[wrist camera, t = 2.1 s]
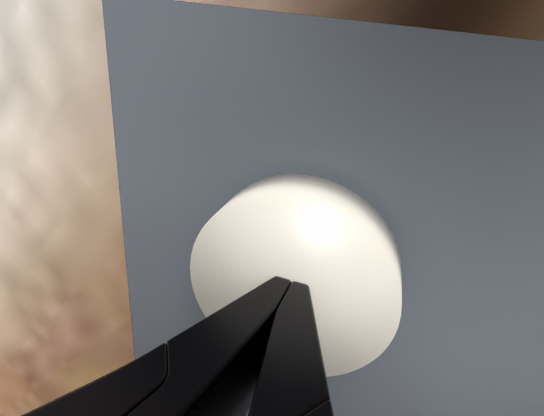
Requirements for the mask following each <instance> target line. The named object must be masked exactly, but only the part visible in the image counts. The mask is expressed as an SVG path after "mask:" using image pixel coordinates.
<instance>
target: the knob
mask: <svg viewBox="0 0 544 416" xmlns="http://www.w3.org/2000/svg"><path fill="white" fill-rule="evenodd" d="M190 275H191V282H192V287H193V291H194V294H195V297H196V300H197V302H198V304H199V306H200V308H201V310H202V312H203V313H204V315H205V317H208V316H209V315H211V314H213V313H214V312H216V311H218V310H219V309H221V308H223V307H224V306H226V305H228V304H229V303H231V302H233V301H234V300H236V299H238V298H239V297H241V296H243V295H244V294H246V293H248V292H249V291H251V290H253V289H254V288H256V287H258V286H259V285H261V284H263V283H264V282H266V281H268V280H269V279H271V278H273V277H275V276H279V277H282V278H286V279H289V280H291V282H293V281H296V282H300V283H303V284H307V285H308V286H309V288H310V294H311V299H312V304H313V309H314V315H315V320H316V325H317V331H318V336H319V341H320V346H321V352H322V357H323V362H324V368H325V373H326V377H330V376H337V375H342V374H346V373H349V372H352V371H355V370H357V369H360V368H362V367H364V366H365V365H367V364H369V363H371V362H372V361H373V360H375V359H376V358H377V357H379V356H380V355H381V354H382V353H383V352H384V350H385V349H386V348H387V347H388V346H389V344H390V343H391V341H392V340H393V338H394V336H395V334H396V331H397V329H398V326H399V322H400V318H401V310H402V266H401V256H400V252H399V249H398V245H397V242H396V240H395V238H394V235H393V233H392V231H391V230H390V228H389V226H388V225H387V223H386V221H385V220H384V219H383V218H382V216H381V215H380V214H379V213H378V211H377V210H376V209H375V208H374V207H372V206H371V205H370V204H369V203H368V202H367V201H366V200H365V199H363V198H362V197H361V196H359V195H358V194H357V193H355V192H353V191H352V190H350V189H348V188H346V187H345V186H343V185H340V184H338V183H336V182H333V181H331V180H328V179H324V178H320V177H317V176H311V175H304V174H283V175H275V176H271V177H267V178H263V179H261V180H258V181H256V182H253V183H251V184H250V185H248V186H246V187H245V188H243V189H242V190H240V191H239V192H238V193H237V194H236V195H234V196H233V197H232V198H231V199H230V200H229V201H228V202H227V203H226V204H225V205H224V206H223V207H222V208H221V209H220V210H219V211H218V212H217V213H216V214H215V215H214V216H212V217H211V218H210V220H209V221H208V222H207V223H206V224H205V225H204V226H203V228H202V229H201V231H200V233H199V234H198V236H197V238H196V241H195V243H194V245H193V249H192V253H191V260H190Z"/></svg>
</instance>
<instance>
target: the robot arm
mask: <svg viewBox="0 0 544 416" xmlns="http://www.w3.org/2000/svg"><path fill="white" fill-rule="evenodd" d="M249 408H250V409H249ZM248 410H249V413H248V416H334V414H333V409H332V404H331V401H330V394H329V389H328V384H327V378H326V373H325V368H324V362H323V357H322V352H321V346H320V341H319V336H318V331H317V325H316V320H315V315H314V309H313V304H312V299H311V294H310V288H309V286H308V285H307V284H303V283H300V282H296V281H293V282H291V280H289V279H286V278H282V277H279V276H275V277H273V278H271V279H269V280H268V281H266V282H264V283H263V284H261V285H259V286H258V287H256V288H254V289H253V290H251V291H249V292H248V293H246V294H244V295H243V296H241V297H239V298H238V299H236V300H234V301H233V302H231V303H229V304H228V305H226V306H224V307H223V308H221V309H219V310H218V311H216V312H214V313H213V314H211V315H209V316H208V317H206V318H204V319H203V320H201V321H199V322H198V323H196V324H194V325H193V326H191V327H189V328H188V329H186V330H184V331H183V332H181V333H179V334H178V335H176V336H174V337H173V338H171V339H169V340H168V341H167V342H166V343H163V344H161V345H159V346H158V347H156V348H154V349H153V350H151V351H149V352H147V353H146V354H144V355H142V356H140V357H139V358H137V359H135V360H133V361H132V362H130V363H128V364H126V365H124V366H122V367H120V368H118V369H117V370H115V371H113V372H111V373H109V374H107V375H105V376H103V377H101V378H99V379H97V380H95V381H93V382H90V383H88V384H86V385H84V386H82V387H80V388H78V389H76V390H74V391H72V392H70V393H68V394H66V395H63V396H61V397H59V398H57V399H55V400H53V401H51V402H49V403H47V404H45V405H43V406H41V407H39V408H36V409H34V410H32V411H30V412H28V413H26V414H23V415H21V416H246V414H247V412H248Z"/></svg>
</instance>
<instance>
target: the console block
mask: <svg viewBox="0 0 544 416" xmlns="http://www.w3.org/2000/svg"><path fill="white" fill-rule="evenodd" d="M102 5H103V16H104V27H105V38H106V48H107V59H108V70H109V81H110V92H111V103H112V114H113V125H114V136H115V146H116V157H117V168H118V179H119V190H120V201H121V212H122V223H123V234H124V244H125V255H126V266H127V277H128V288H129V299H130V310H131V321H132V331H133V342H134V353H135V359H137V358H139V357H140V356H142V355H144V354H146V353H147V352H149V351H151V350H153V349H154V348H156V347H158V346H159V345H161V344H163V343H166V342H167V341H168V340H169V339H171V338H173V337H174V336H176V335H178V334H179V333H181V332H183V331H184V330H186V329H188V328H189V327H191V326H193V325H194V324H196V323H198V322H199V321H201V320H203V319H204V318H206V317H205V315H204V313H203V312H202V310H201V308H200V306H199V304H198V302H197V300H196V297H195V294H194V291H193V287H192V282H191V275H190V260H191V253H192V249H193V245H194V243H195V241H196V238H197V236H198V234H199V233H200V231H201V229H202V228H203V226H204V225H205V224H206V223H207V222H208V221H209V220H210V218H211V217H212V216H214V215H215V214H216V213H217V212H218V211H219V210H220V209H221V208H222V207H223V206H224V205H225V204H226V203H227V202H228V201H229V200H230V199H231V198H232V197H233V196H234V195H236V194H237V193H238V192H239V191H240V190H242V189H243V188H245V187H246V186H248V185H250V184H251V183H253V182H256V181H258V180H261V179H263V178H267V177H271V176H275V175H283V174H304V175H311V176H317V177H320V178H324V179H328V180H331V181H333V182H336V183H338V184H340V185H343V186H345V187H346V188H348V189H350V190H352V191H353V192H355V193H357V194H358V195H359V196H361V197H362V198H363V199H365V200H366V201H367V202H368V203H369V204H370V205H371V206H372V207H374V208H375V209H376V210H377V211H378V213H379V214H380V215H381V216H382V218H383V219H384V220H385V221H386V223H387V225H388V226H389V228H390V230H391V231H392V233H393V235H394V238H395V240H396V242H397V245H398V249H399V252H400V256H401V266H402V310H401V318H400V322H399V326H398V329H397V331H396V334H395V336H394V338H393V340H392V341H391V343H390V344H389V346H388V347H387V348H386V349H385V350H384V352H383V353H382V354H381V355H380V356H379V357H377V358H376V359H375V360H373V361H372V362H371V363H369V364H367V365H365V366H364V367H362V368H360V369H357V370H355V371H352V372H349V373H346V374H342V375H337V376H330V377H326V378H327V384H328V389H329V394H330V401H331V404H332V409H333V414H334V416H544V41H539V40H530V39H521V38H512V37H502V36H493V35H484V34H475V33H466V32H457V31H448V30H439V29H430V28H421V27H411V26H402V25H393V24H384V23H375V22H366V21H357V20H348V19H339V18H330V17H320V16H311V15H302V14H293V13H284V12H275V11H266V10H257V9H248V8H239V7H229V6H220V5H211V4H202V3H193V2H184V1H175V0H102ZM249 409H250V408H249ZM248 413H249V410H248V412H247V414H246V416H248Z"/></svg>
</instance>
